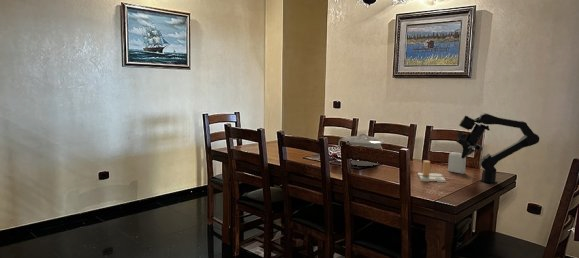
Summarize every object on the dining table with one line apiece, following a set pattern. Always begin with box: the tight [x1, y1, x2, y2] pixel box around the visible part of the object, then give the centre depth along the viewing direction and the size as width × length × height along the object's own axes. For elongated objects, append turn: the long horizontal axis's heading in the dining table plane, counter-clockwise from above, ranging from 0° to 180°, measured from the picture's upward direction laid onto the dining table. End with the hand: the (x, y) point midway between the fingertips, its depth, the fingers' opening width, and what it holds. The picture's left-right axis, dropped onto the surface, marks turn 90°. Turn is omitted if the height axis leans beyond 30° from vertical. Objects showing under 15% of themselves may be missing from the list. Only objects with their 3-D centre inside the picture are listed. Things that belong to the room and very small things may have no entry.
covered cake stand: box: [338, 133, 386, 167], centre depth 261 cm, size 28×28×21 cm
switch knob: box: [422, 159, 431, 176], centre depth 229 cm, size 3×4×9 cm, turn 170°
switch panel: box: [417, 172, 446, 183], centre depth 230 cm, size 13×14×2 cm
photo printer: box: [447, 151, 467, 175], centre depth 246 cm, size 10×4×12 cm, turn 39°
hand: (462, 158), depth 227 cm, fingers closed
